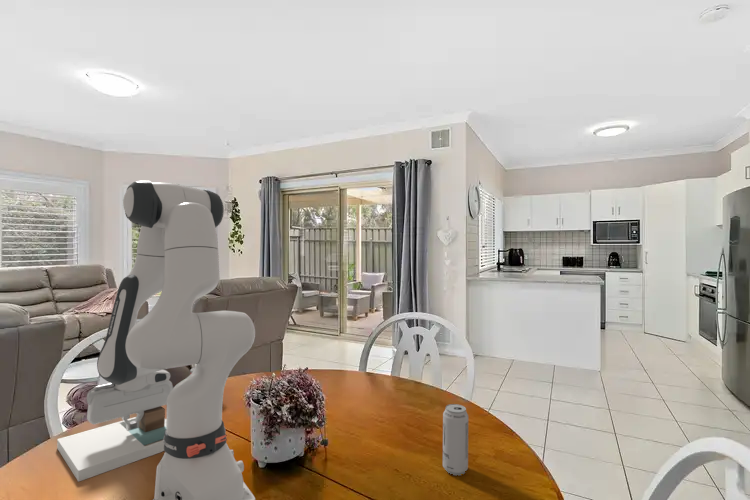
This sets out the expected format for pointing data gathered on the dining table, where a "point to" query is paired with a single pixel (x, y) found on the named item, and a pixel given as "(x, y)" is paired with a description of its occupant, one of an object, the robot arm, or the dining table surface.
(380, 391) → the dining table surface
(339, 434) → the dining table surface
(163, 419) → the walnut block
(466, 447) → the energy drink can
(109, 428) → the board
